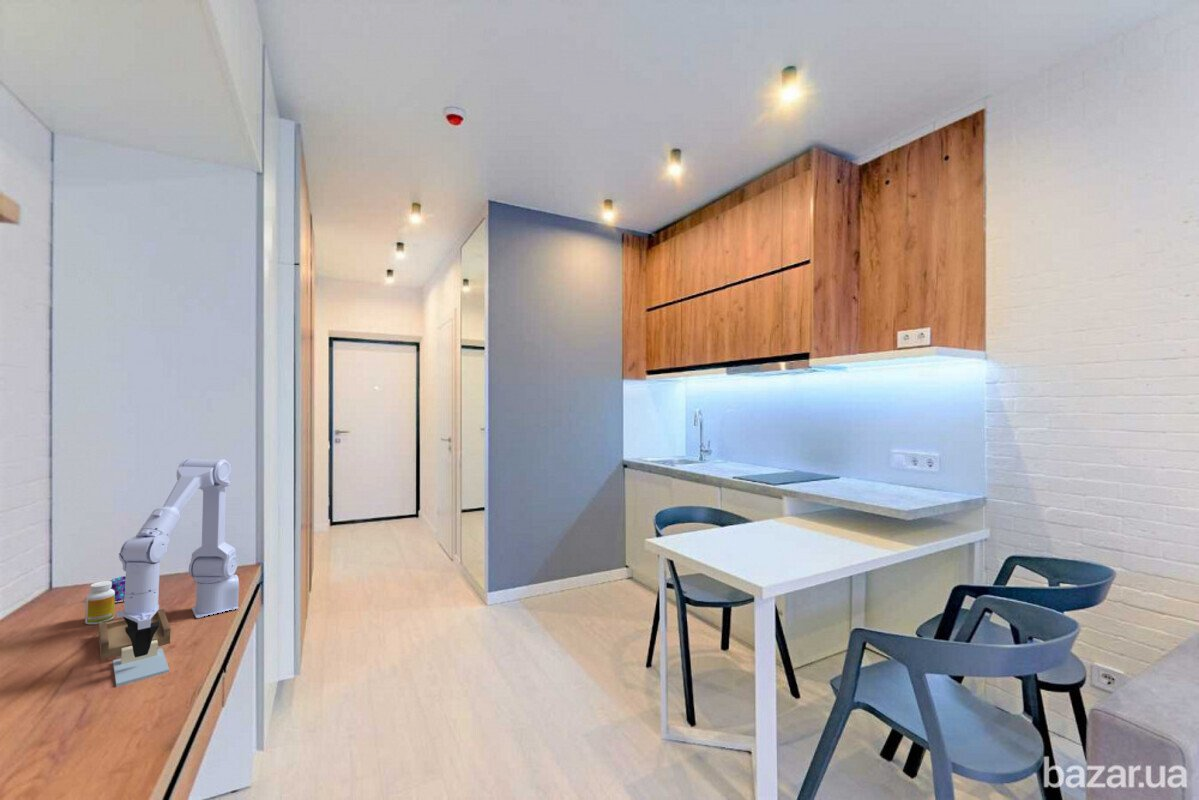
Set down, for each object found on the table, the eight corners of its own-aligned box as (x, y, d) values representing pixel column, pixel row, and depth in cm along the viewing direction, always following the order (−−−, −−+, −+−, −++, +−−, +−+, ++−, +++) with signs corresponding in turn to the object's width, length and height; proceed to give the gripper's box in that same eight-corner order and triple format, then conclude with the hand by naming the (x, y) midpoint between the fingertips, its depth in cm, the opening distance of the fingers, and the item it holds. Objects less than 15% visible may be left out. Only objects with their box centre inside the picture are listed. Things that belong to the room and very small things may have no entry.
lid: (162, 652, 119) (162, 635, 119) (168, 674, 111) (169, 655, 111) (112, 665, 113) (113, 646, 113) (116, 689, 105) (117, 669, 105)
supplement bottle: (118, 618, 133) (119, 582, 132) (90, 627, 128) (92, 589, 128) (108, 614, 135) (109, 578, 135) (80, 621, 130) (82, 584, 130)
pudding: (120, 587, 152) (121, 570, 152) (160, 589, 152) (161, 572, 152) (80, 604, 140) (81, 585, 140) (124, 606, 140) (125, 588, 140)
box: (162, 622, 132) (163, 608, 132) (169, 643, 122) (170, 628, 122) (98, 636, 123) (99, 622, 123) (100, 660, 114) (101, 644, 114)
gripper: (115, 583, 116) (113, 641, 116) (119, 604, 106) (117, 668, 106) (156, 576, 121) (153, 632, 121) (163, 596, 111) (161, 656, 111)
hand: (139, 648), depth 114 cm, fingers open, 7 cm apart
